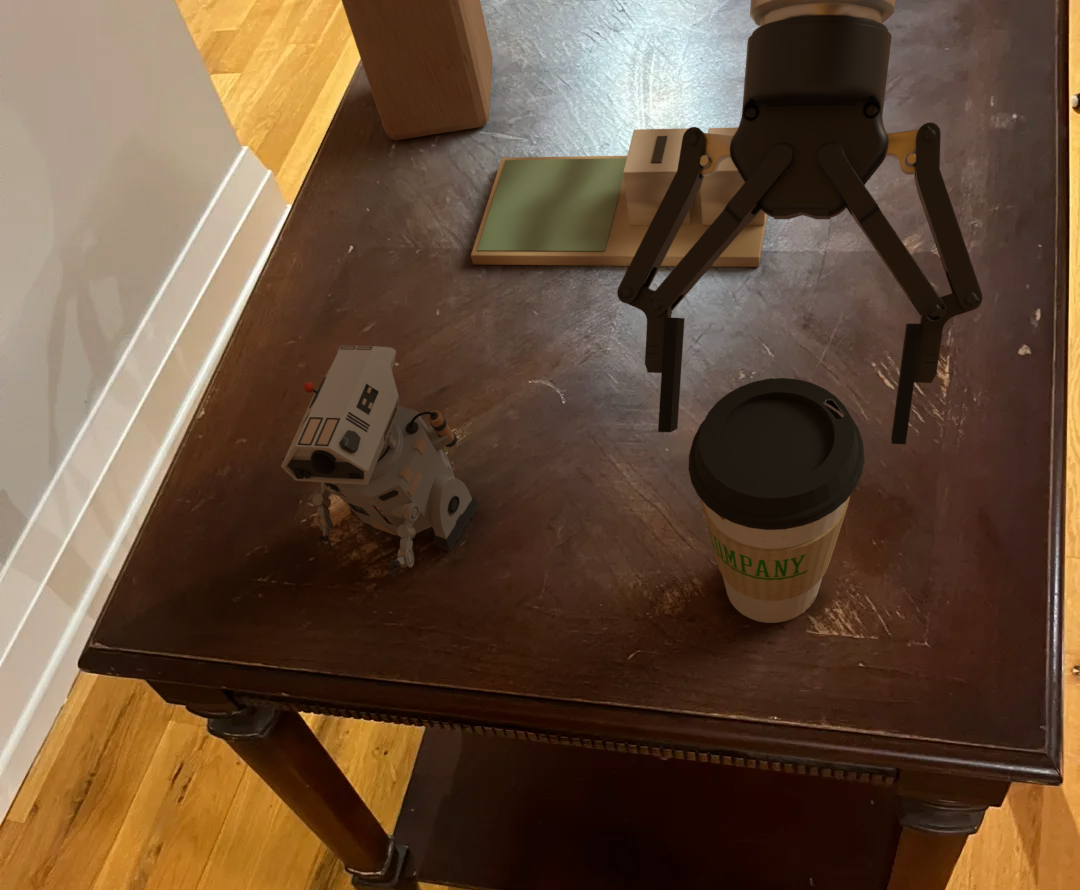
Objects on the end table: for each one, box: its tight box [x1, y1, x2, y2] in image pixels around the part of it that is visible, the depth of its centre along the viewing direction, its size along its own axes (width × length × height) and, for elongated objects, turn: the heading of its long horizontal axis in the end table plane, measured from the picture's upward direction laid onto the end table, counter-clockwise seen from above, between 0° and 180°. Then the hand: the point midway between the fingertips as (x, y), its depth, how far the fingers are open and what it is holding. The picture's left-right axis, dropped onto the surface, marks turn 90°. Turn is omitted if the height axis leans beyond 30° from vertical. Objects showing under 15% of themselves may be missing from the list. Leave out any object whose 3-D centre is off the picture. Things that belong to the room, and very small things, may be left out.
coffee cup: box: [688, 377, 866, 624], centre depth 67 cm, size 10×10×15 cm
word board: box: [470, 126, 769, 268], centre depth 89 cm, size 24×12×6 cm, turn 78°
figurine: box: [280, 345, 479, 579], centre depth 74 cm, size 9×12×15 cm
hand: (780, 436), depth 65 cm, fingers open, 13 cm apart
